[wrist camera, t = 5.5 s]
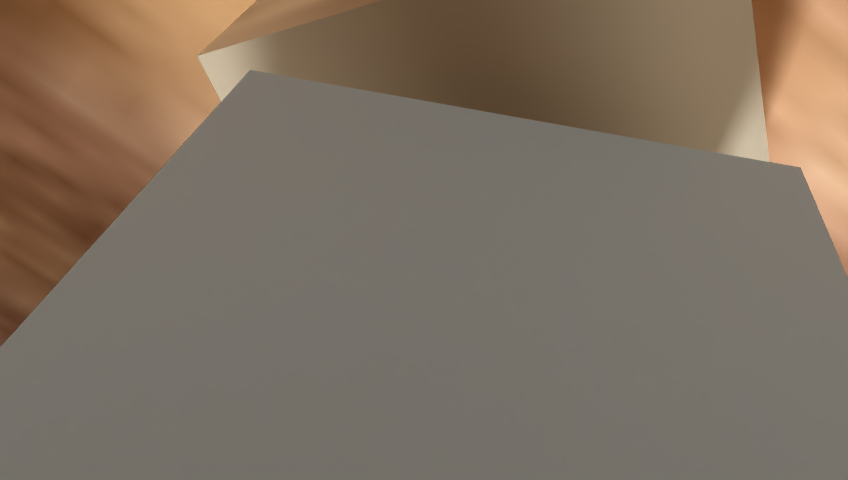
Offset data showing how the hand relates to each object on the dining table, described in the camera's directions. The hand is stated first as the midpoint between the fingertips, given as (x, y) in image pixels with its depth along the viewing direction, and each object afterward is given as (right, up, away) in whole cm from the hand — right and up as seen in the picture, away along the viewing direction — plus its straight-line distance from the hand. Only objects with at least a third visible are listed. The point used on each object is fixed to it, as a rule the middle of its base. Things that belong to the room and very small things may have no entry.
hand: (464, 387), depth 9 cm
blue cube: (0, +1, +1) cm, 1 cm away
